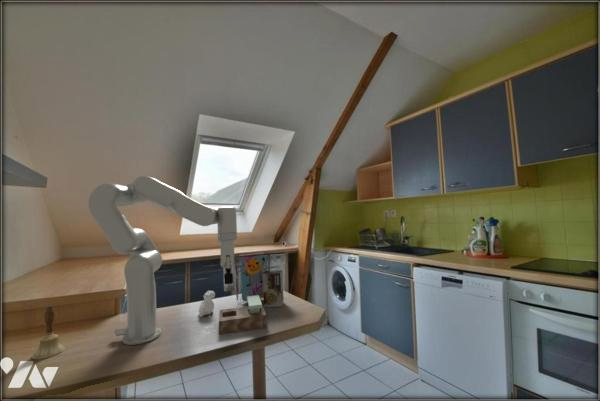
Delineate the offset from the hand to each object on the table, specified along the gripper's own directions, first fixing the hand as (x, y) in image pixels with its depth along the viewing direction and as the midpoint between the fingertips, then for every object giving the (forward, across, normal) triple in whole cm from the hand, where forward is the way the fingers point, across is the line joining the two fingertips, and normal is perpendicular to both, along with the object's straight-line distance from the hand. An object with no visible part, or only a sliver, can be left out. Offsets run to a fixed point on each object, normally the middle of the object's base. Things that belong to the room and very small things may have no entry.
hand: (228, 281), depth 107 cm
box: (+18, -25, +8) cm, 32 cm away
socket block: (+18, 0, +5) cm, 19 cm away
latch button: (+14, 0, +10) cm, 18 cm away
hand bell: (+18, 0, -60) cm, 63 cm away
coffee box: (+18, -18, +21) cm, 33 cm away
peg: (+3, 0, 0) cm, 3 cm away
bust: (+18, -18, -10) cm, 28 cm away
